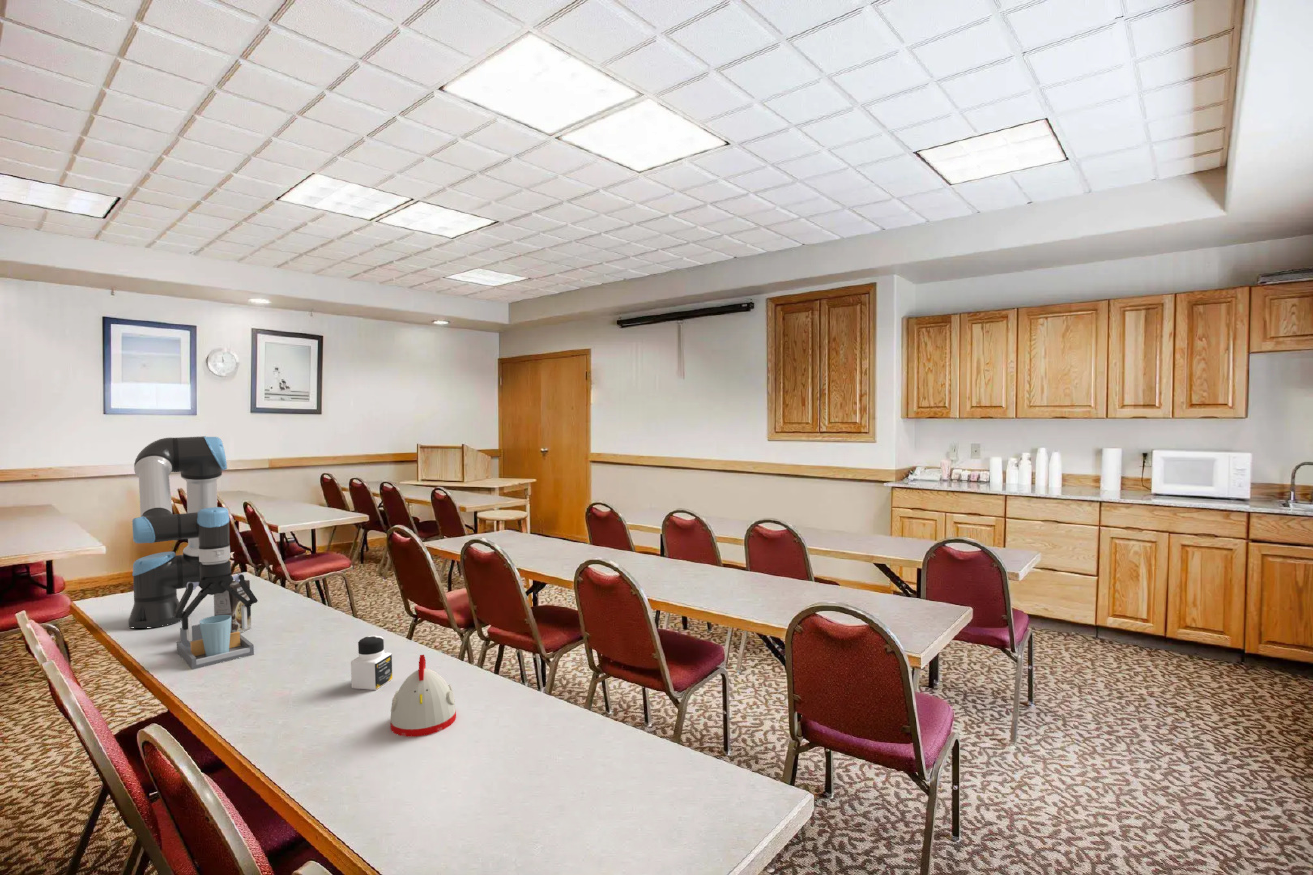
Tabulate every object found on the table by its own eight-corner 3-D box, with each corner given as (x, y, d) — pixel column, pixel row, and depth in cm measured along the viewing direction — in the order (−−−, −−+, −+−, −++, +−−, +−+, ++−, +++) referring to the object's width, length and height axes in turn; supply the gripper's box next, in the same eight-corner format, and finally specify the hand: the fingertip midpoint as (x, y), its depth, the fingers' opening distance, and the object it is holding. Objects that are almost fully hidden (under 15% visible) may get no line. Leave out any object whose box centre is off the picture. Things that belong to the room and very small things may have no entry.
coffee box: (234, 637, 207) (232, 586, 207) (214, 637, 208) (212, 587, 207) (252, 628, 216) (250, 579, 216) (233, 628, 217) (231, 579, 216)
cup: (234, 647, 194) (232, 612, 194) (232, 656, 188) (230, 620, 187) (203, 652, 191) (201, 617, 190) (200, 661, 184) (198, 625, 183)
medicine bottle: (376, 690, 164) (374, 643, 164) (351, 688, 166) (349, 642, 165) (393, 679, 171) (391, 634, 171) (368, 677, 173) (367, 632, 172)
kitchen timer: (386, 741, 139) (384, 671, 138) (394, 713, 152) (392, 649, 151) (455, 731, 142) (453, 663, 142) (456, 704, 156) (455, 642, 155)
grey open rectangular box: (176, 652, 195) (175, 629, 194) (235, 639, 205) (234, 617, 205) (192, 669, 181) (191, 644, 180) (253, 654, 192) (252, 630, 191)
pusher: (187, 651, 192) (186, 637, 192) (234, 640, 200) (233, 627, 200) (192, 656, 187) (191, 643, 187) (240, 645, 196) (239, 632, 196)
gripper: (164, 571, 177) (167, 648, 178) (267, 556, 195) (270, 626, 196) (159, 567, 183) (162, 642, 184) (259, 552, 201) (262, 620, 202)
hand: (217, 634), depth 190 cm, fingers open, 13 cm apart
